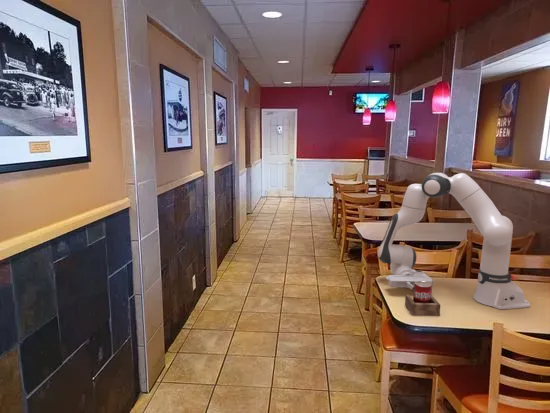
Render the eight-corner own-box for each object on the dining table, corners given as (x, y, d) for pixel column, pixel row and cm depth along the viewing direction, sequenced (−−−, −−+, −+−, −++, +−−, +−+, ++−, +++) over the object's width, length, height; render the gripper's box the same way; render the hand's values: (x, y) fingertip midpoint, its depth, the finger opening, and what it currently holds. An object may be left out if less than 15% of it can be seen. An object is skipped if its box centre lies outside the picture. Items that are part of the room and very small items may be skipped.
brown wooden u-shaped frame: (430, 305, 171) (431, 294, 170) (439, 315, 161) (440, 304, 160) (404, 304, 171) (405, 294, 170) (411, 315, 161) (412, 304, 161)
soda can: (432, 314, 163) (434, 287, 160) (414, 313, 164) (416, 286, 161) (427, 306, 170) (429, 281, 168) (410, 305, 171) (412, 280, 168)
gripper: (384, 270, 188) (392, 281, 174) (426, 271, 187) (437, 281, 174) (384, 282, 189) (391, 294, 175) (425, 283, 188) (436, 294, 175)
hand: (415, 288), depth 175 cm, fingers closed
